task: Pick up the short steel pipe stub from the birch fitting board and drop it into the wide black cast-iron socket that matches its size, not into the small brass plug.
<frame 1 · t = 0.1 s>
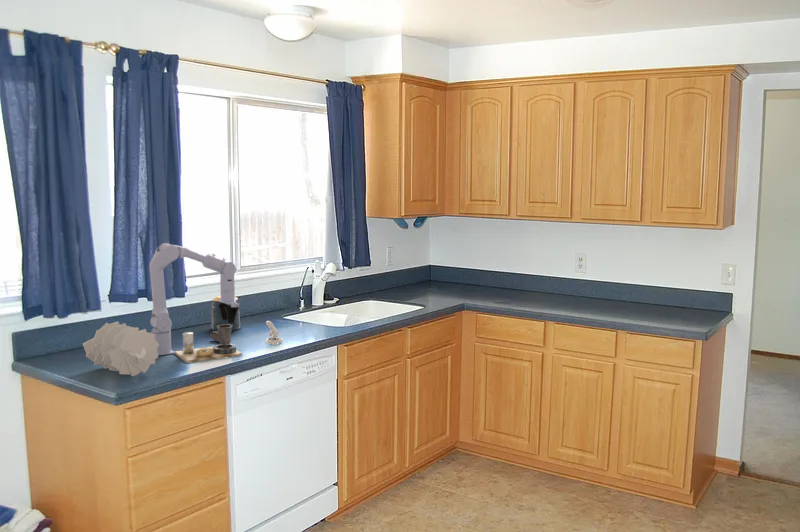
hand: (228, 321, 293), 10 cm above the worktop, tool pointing down, fingers open, 7 cm apart
socket large: (224, 353, 279), resting on fitting board
spiral staircase: (123, 372, 253), on the worktop
canister: (226, 329, 324), on the worktop
pipe stub: (188, 352, 276), point 1 cm above the worktop, touching fitting board
fitting board: (208, 354, 278), on the worktop
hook: (274, 342, 300), on the worktop
plug small: (204, 358, 272), resting on fitting board
pipe: (221, 343, 297), on the worktop
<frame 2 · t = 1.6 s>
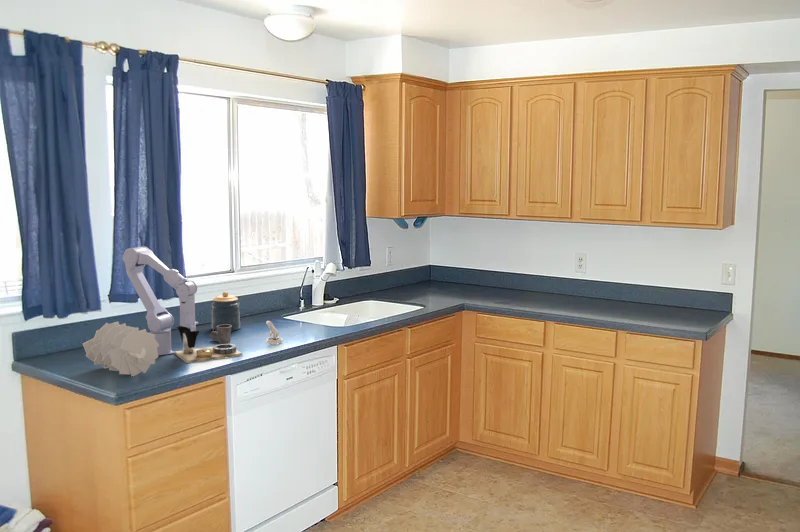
hand: (188, 345, 276), 4 cm above the worktop, tool pointing down, fingers open, 7 cm apart
nothing on the worktop moved.
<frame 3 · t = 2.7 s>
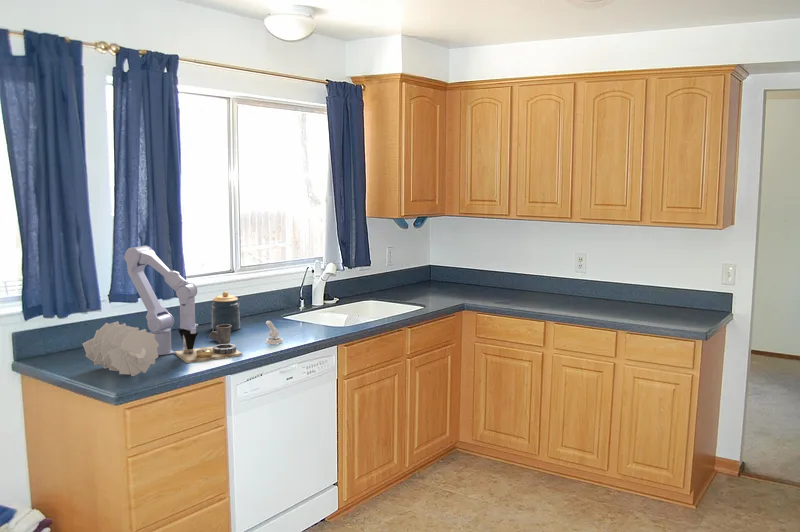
hand: (188, 347, 276), 3 cm above the worktop, tool pointing down, fingers closed on pipe stub, 4 cm apart
pipe stub: (188, 352, 276), point 1 cm above the worktop, touching fitting board, gripper
everything else where it was.
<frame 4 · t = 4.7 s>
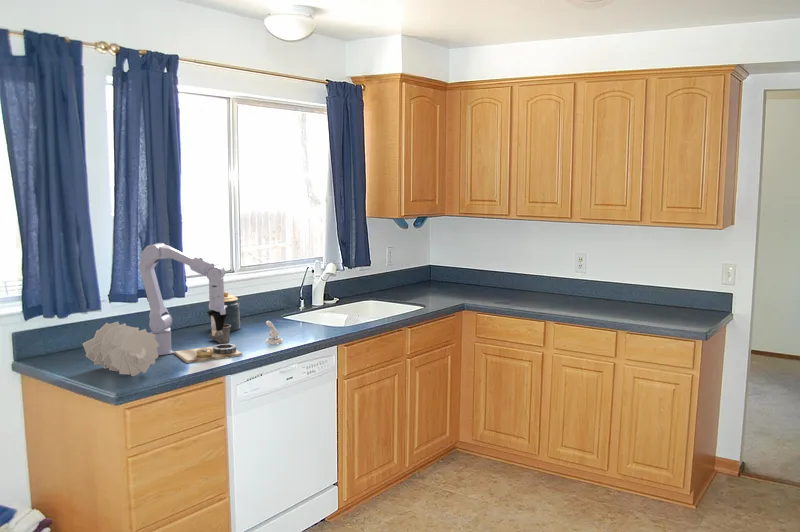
hand: (217, 329, 277), 10 cm above the worktop, tool pointing down, fingers closed on pipe stub, 4 cm apart
pipe stub: (217, 335, 278), point 8 cm above the worktop, touching gripper
everything else where it was.
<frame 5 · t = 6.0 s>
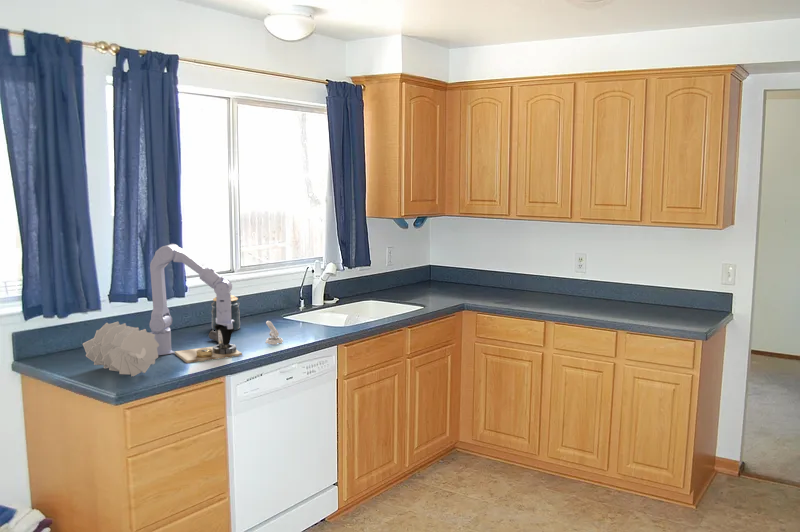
hand: (224, 343, 279), 4 cm above the worktop, tool pointing down, fingers closed on pipe stub, 4 cm apart
pipe stub: (224, 349, 279), point 2 cm above the worktop, touching gripper
when the fingers open (4 cm above the worktop, at t = 6.9 s): pipe stub stays where it is, resting on fitting board.
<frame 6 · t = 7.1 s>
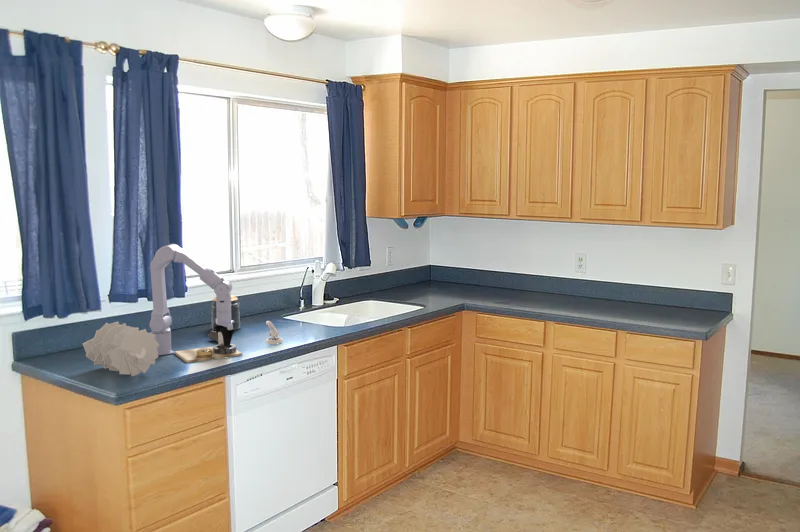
hand: (224, 344, 279), 4 cm above the worktop, tool pointing down, fingers open, 6 cm apart
pipe stub: (224, 351, 279), point 1 cm above the worktop, touching fitting board
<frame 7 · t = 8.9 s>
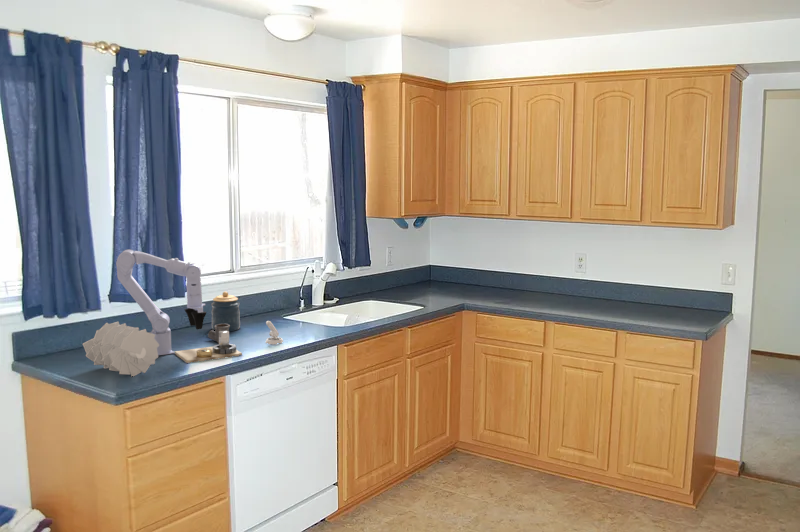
hand: (196, 327, 281), 10 cm above the worktop, tool pointing down, fingers open, 7 cm apart
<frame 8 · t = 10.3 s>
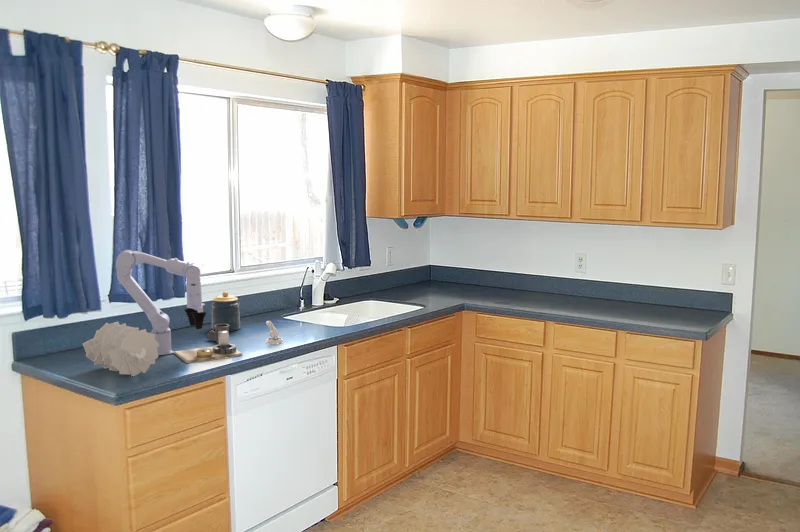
hand: (196, 327, 282), 10 cm above the worktop, tool pointing down, fingers open, 7 cm apart
at the end: pipe stub 0.2 cm off-centre on the socket large, point 1.0 cm above the socket large's base; pipe stub tilted 1°; the gripper is holding nothing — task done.
